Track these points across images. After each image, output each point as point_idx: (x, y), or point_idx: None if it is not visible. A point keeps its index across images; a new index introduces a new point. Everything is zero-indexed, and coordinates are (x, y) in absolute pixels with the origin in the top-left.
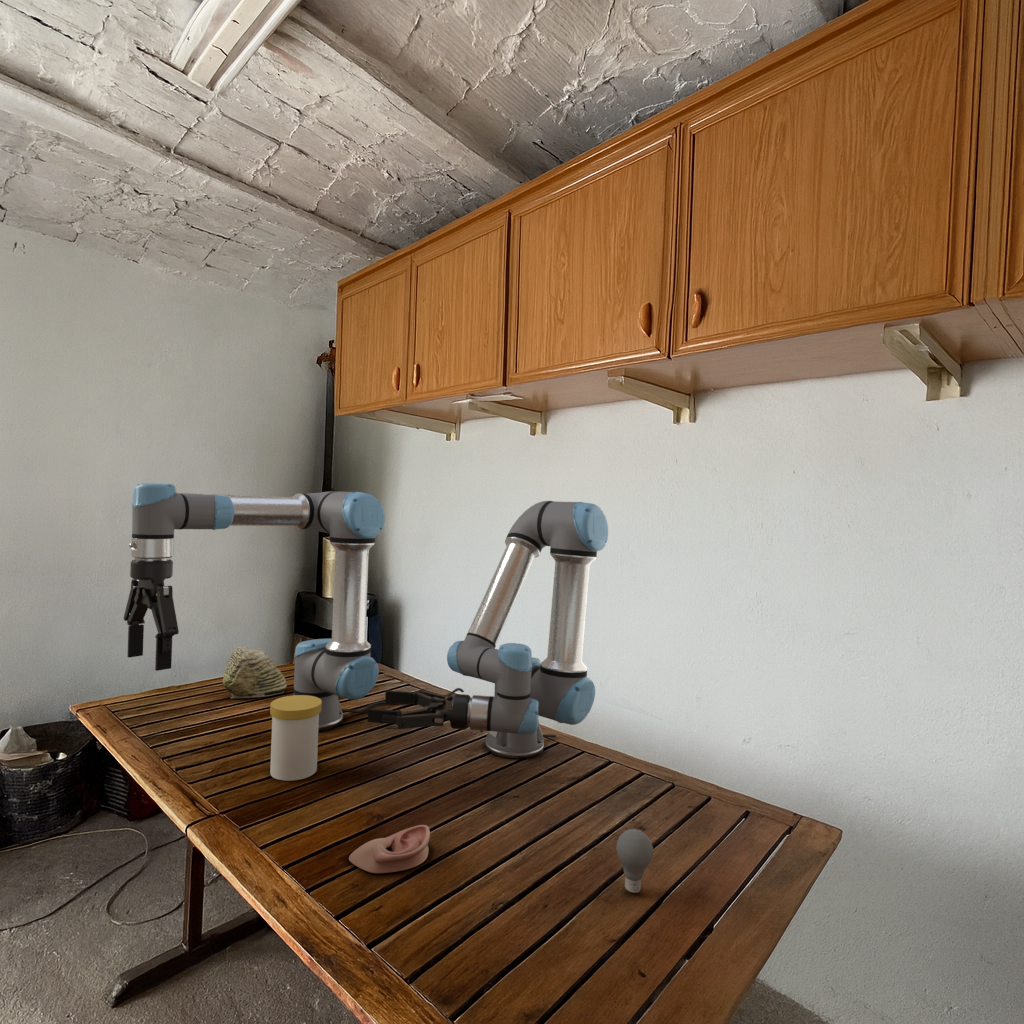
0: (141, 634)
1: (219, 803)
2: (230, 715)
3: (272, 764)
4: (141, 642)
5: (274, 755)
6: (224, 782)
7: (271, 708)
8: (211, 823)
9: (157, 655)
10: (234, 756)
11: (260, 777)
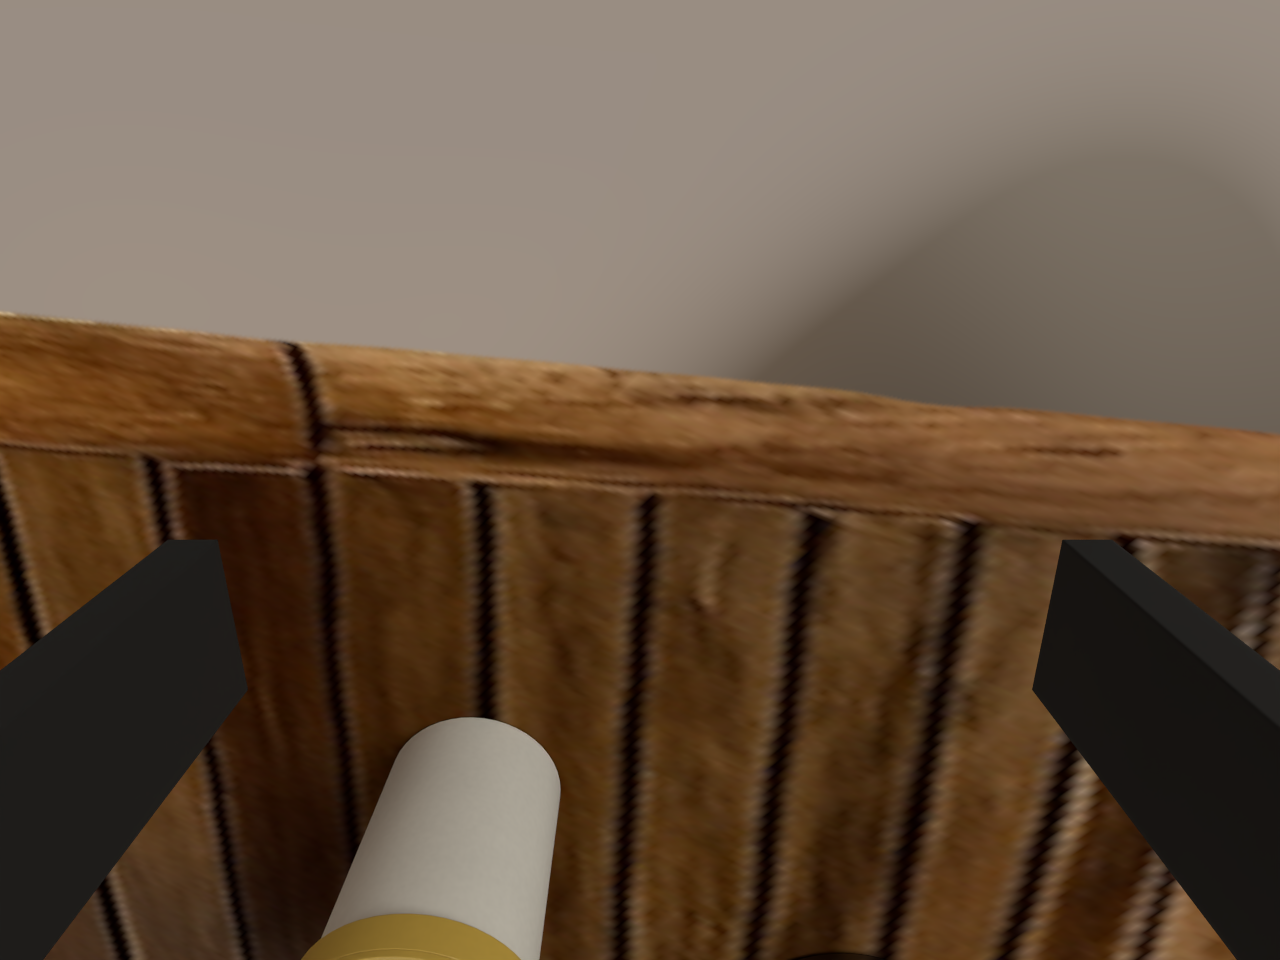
0: (1223, 904)
1: (397, 498)
2: (1179, 885)
3: (472, 749)
4: (1136, 796)
5: (451, 777)
6: (560, 587)
7: (428, 950)
8: (257, 409)
9: (32, 650)
10: (763, 714)
11: (508, 690)
